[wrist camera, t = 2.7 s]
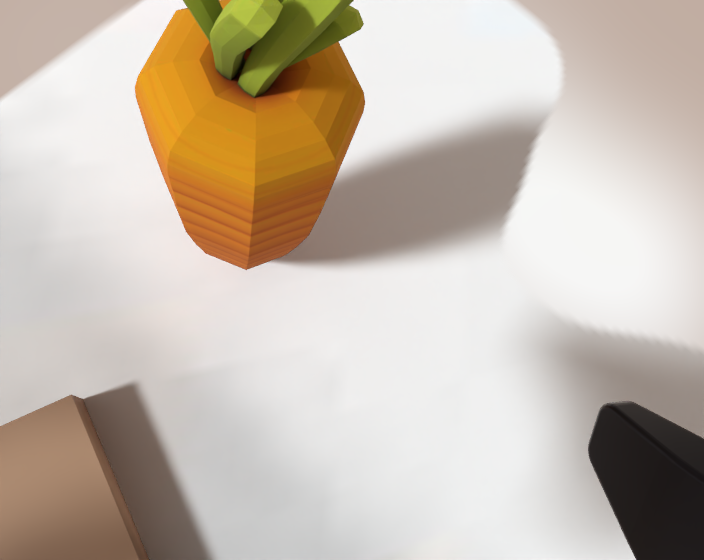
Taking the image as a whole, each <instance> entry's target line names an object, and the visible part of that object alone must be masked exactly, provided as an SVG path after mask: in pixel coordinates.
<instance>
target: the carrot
mask: <svg viewBox="0 0 704 560" xmlns="http://www.w3.org/2000/svg"><path fill="white" fill-rule="evenodd" d="M183 1H184V3H185V4H186V6H187V7H188V8H185V9H181V10H177V11H176V12H175V14H174V15H173V17H172V19H171V20H170V22H169V24H168V26H167V27H166V29H165V31H164V32H163V34H162V36H161V38H160V39H159V41H158V43H157V45H156V46H155V48H154V50H153V51H152V53H151V55H150V57H149V58H148V60H147V62H146V63H145V65H144V67H143V69H142V70H141V72H140V74H139V75H138V78H137V82H136V85H135V92H136V99H137V102H138V105H139V109H140V112H141V115H142V118H143V121H144V124H145V128H146V131H147V134H148V137H149V140H150V143H151V146H152V148H153V151H154V154H155V156H156V159H157V161H158V164H159V167H160V169H161V172H162V175H163V177H164V179H165V182H166V184H167V187H168V189H169V192H170V194H171V196H172V199H173V201H174V204H175V206H176V208H177V211H178V213H179V216H180V218H181V220H182V223H183V225H184V228H185V230H186V232H187V233H188V235H189V236H190V237H191V238H192V240H193V241H194V242H195V243H196V245H198V246H199V247H200V248H201V249H202V250H203V251H204V252H205V253H206V254H209V255H211V256H214V257H216V258H219V259H221V260H223V261H226V262H228V263H231V264H233V265H236V266H238V267H241V268H243V269H246V270H247V269H250V268H252V267H255V266H258V265H260V264H263V263H266V262H268V261H271V260H274V259H276V258H279V257H282V256H284V255H286V254H288V253H289V252H290V251H292V250H293V249H294V248H296V247H297V246H298V245H299V244H300V243H301V242H302V241H303V240H304V239H305V238H306V237H307V236H308V235H309V234H310V232H311V230H312V228H313V226H314V224H315V222H316V220H317V219H318V217H319V215H320V213H321V211H322V208H323V206H324V204H325V201H326V199H327V197H328V195H329V192H330V190H331V188H332V185H333V183H334V181H335V178H336V176H337V173H338V171H339V169H340V166H341V164H342V161H343V159H344V157H345V154H346V152H347V150H348V147H349V145H350V142H351V140H352V138H353V135H354V133H355V130H356V128H357V126H358V123H359V121H360V118H361V116H362V114H363V110H364V105H365V99H364V92H363V90H362V88H361V86H360V84H359V82H358V80H357V78H356V76H355V74H354V72H353V70H352V68H351V66H350V64H349V62H348V60H347V58H346V56H345V54H344V52H343V50H342V48H341V46H340V44H339V42H338V41H340V40H342V39H344V38H346V37H347V36H349V35H351V34H353V33H355V32H356V31H358V30H360V29H361V27H362V26H363V21H362V18H361V16H360V13H359V11H358V10H357V9H355V8H353V7H351V6H349V4H350V3H351V2H352V1H353V0H183Z"/></svg>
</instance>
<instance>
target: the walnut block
mask: <svg viewBox="0 0 704 560" xmlns="http://www.w3.org/2000/svg"><path fill="white" fill-rule="evenodd" d="M0 560H149V558H148V556H147V553H146V551H145V549H144V546H143V544H142V541H141V539H140V537H139V534H138V532H137V529H136V527H135V524H134V522H133V520H132V517H131V515H130V512H129V510H128V508H127V505H126V503H125V500H124V498H123V496H122V493H121V491H120V488H119V486H118V483H117V481H116V479H115V476H114V474H113V471H112V469H111V467H110V464H109V462H108V459H107V457H106V454H105V452H104V450H103V447H102V445H101V442H100V440H99V438H98V435H97V433H96V430H95V428H94V426H93V423H92V421H91V418H90V416H89V413H88V411H87V409H86V406H85V404H84V401H83V399H81V398H78V397H76V396H73V395H70V396H67V397H65V398H63V399H61V400H58V401H56V402H54V403H52V404H49V405H47V406H45V407H43V408H40V409H38V410H36V411H34V412H32V413H29V414H27V415H25V416H23V417H20V418H18V419H16V420H14V421H11V422H9V423H7V424H5V425H2V426H0Z"/></svg>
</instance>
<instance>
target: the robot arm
mask: <svg viewBox="0 0 704 560" xmlns="http://www.w3.org/2000/svg"><path fill="white" fill-rule="evenodd" d="M588 452H589V458H590V461H591V464H592V466H593V468H594V470H595V472H596V474H597V477H598V479H599V481H600V483H601V485H602V488H603V490H604V492H605V494H606V496H607V498H608V501H609V503H610V505H611V507H612V509H613V512H614V514H615V516H616V518H617V520H618V522H619V525H620V527H621V529H622V531H623V533H624V535H625V538H626V540H627V542H628V544H629V546H630V548H631V550H632V552H633V554H634V556H635V558H636V560H704V439H703V438H701V437H700V436H698V435H696V434H694V433H692V432H690V431H688V430H686V429H684V428H682V427H680V426H678V425H676V424H675V423H673V422H671V421H669V420H667V419H665V418H663V417H661V416H659V415H657V414H655V413H653V412H652V411H650V410H648V409H646V408H644V407H642V406H640V405H638V404H636V403H634V402H631V401H622V402H613V403H607V404H604V405H603V406H602V407H601V408H600V410H599V413H598V416H597V419H596V422H595V425H594V429H593V432H592V435H591V438H590V441H589V445H588Z"/></svg>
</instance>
